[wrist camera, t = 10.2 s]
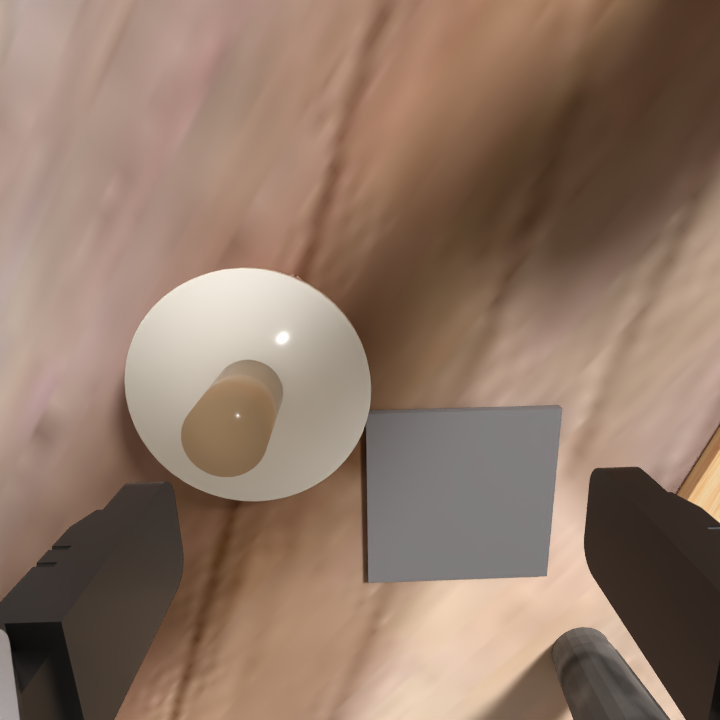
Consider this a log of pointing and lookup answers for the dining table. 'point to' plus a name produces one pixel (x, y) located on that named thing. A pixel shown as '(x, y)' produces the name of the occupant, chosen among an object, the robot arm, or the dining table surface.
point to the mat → (460, 492)
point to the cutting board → (705, 480)
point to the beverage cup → (600, 680)
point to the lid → (248, 384)
